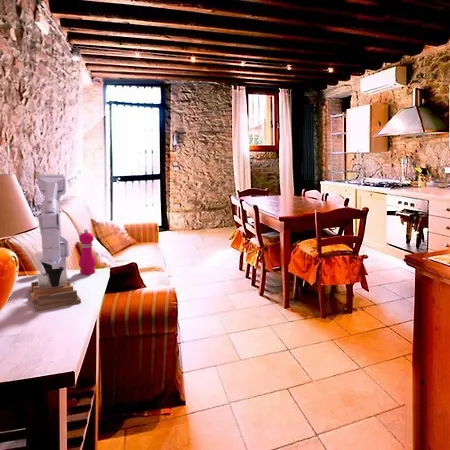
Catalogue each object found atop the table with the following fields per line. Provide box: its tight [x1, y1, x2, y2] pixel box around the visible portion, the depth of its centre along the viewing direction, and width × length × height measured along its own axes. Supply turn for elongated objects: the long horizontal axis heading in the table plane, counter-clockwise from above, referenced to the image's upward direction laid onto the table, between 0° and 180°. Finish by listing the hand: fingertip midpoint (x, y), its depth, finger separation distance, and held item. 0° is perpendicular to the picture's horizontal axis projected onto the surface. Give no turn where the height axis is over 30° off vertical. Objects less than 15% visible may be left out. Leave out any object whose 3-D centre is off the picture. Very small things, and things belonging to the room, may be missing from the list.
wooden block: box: [37, 270, 68, 291], centre depth 126 cm, size 9×3×8 cm, turn 125°
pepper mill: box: [78, 228, 97, 276], centre depth 156 cm, size 7×7×20 cm
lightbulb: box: [33, 248, 46, 274], centre depth 153 cm, size 6×6×11 cm
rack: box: [28, 280, 82, 312], centre depth 127 cm, size 20×14×4 cm
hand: (53, 283), depth 126 cm, fingers open, 7 cm apart
